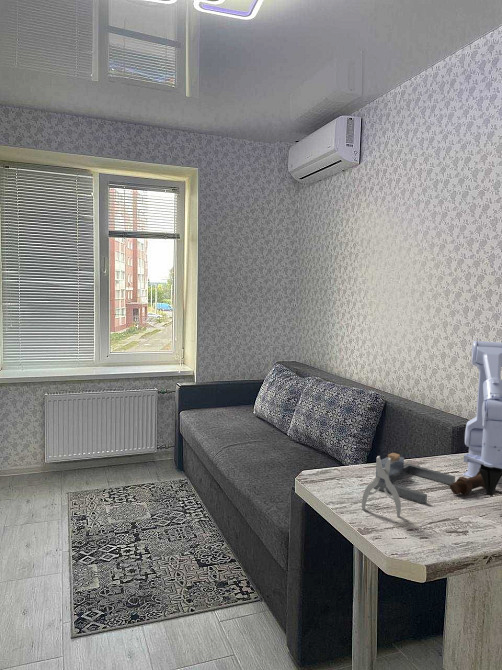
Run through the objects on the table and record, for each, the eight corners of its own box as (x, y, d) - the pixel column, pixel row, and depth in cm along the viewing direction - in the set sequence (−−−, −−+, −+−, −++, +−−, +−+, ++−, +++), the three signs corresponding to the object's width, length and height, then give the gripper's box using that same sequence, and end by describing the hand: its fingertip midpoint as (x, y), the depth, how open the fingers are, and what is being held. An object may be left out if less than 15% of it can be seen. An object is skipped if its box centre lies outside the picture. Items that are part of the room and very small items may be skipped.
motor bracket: (399, 468, 167) (400, 447, 166) (454, 484, 155) (456, 461, 154) (365, 485, 152) (367, 462, 151) (424, 504, 140) (425, 479, 139)
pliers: (400, 516, 132) (403, 459, 131) (399, 518, 131) (402, 461, 129) (362, 508, 136) (365, 453, 135) (361, 510, 135) (363, 455, 134)
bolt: (464, 489, 143) (498, 478, 150) (451, 475, 146) (485, 465, 154) (455, 502, 146) (488, 491, 153) (442, 488, 149) (476, 478, 157)
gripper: (460, 441, 138) (457, 490, 140) (518, 454, 128) (514, 506, 130) (470, 436, 143) (467, 483, 145) (527, 448, 134) (523, 498, 135)
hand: (490, 494), depth 138 cm, fingers closed
